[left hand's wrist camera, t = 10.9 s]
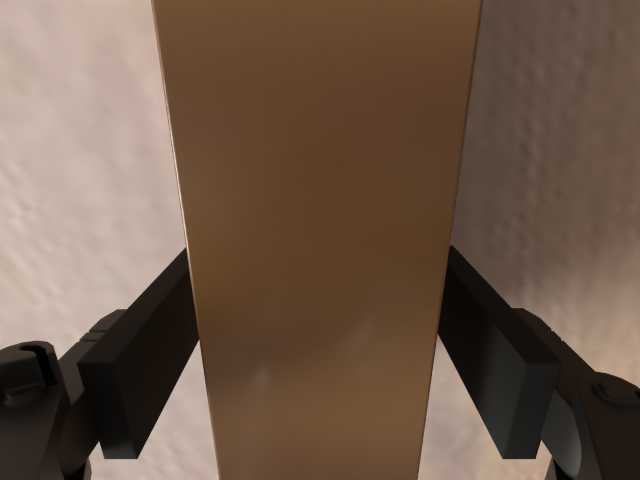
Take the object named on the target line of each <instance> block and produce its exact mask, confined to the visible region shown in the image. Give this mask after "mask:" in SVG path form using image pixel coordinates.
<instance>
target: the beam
mask: <svg viewBox="0 0 640 480" xmlns="http://www.w3.org/2000/svg"><path fill="white" fill-rule="evenodd" d="M151 3H152V10H153V17H154V24H155V31H156V38H157V45H158V52H159V59H160V66H161V73H162V80H163V87H164V94H165V101H166V108H167V115H168V122H169V129H170V136H171V143H172V151H173V158H174V165H175V172H176V179H177V186H178V193H179V200H180V207H181V214H182V221H183V228H184V235H185V242H186V249H187V256H188V263H189V270H190V277H191V284H192V291H193V298H194V305H195V312H196V319H197V326H198V333H199V340H200V347H201V354H202V361H203V368H204V375H205V382H206V389H207V396H208V403H209V410H210V417H211V425H212V432H213V439H214V446H215V453H216V460H217V467H218V474H219V480H417V479H418V472H419V465H420V458H421V450H422V443H423V436H424V428H425V421H426V414H427V406H428V399H429V392H430V385H431V377H432V370H433V363H434V355H435V348H436V341H437V333H438V326H439V319H440V312H441V304H442V297H443V290H444V282H445V275H446V268H447V260H448V253H449V246H450V239H451V231H452V224H453V217H454V209H455V202H456V195H457V187H458V180H459V173H460V165H461V158H462V151H463V144H464V136H465V129H466V122H467V114H468V107H469V100H470V92H471V85H472V78H473V71H474V63H475V56H476V49H477V41H478V34H479V27H480V19H481V12H482V5H483V0H151Z"/></svg>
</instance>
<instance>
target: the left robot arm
mask: <svg viewBox="0 0 640 480" xmlns="http://www.w3.org/2000/svg"><path fill="white" fill-rule="evenodd" d="M438 335H439V337H440V339H441V340H442V342H443V344H444V346H445V348H446V350H447V352H448V354H449V356H450V358H451V360H452V362H453V364H454V366H455V368H456V370H457V371H458V373H459V375H460V377H461V379H462V381H463V383H464V385H465V387H466V389H467V391H468V393H469V395H470V397H471V399H472V400H473V402H474V404H475V406H476V408H477V410H478V412H479V414H480V416H481V418H482V420H483V422H484V424H485V426H486V428H487V430H488V431H489V433H490V435H491V437H492V439H493V441H494V443H495V445H496V447H497V449H498V451H499V453H500V455H501V457H502V459H536V455H537V452H538V449H539V445H540V442H541V440H542V441H543V443H544V444H545V446H546V447H547V449H548V450H549V452H550V453H551V455H552V458H551V461H550V464H549V467H548V470H547V474H546V477H545V480H640V388H638V387H637V386H635V385H634V384H632V383H630V382H628V381H626V380H624V379H622V378H619V377H616V376H613V375H610V374H607V373H601V372H595V371H594V370H593V369H592V368H591V367H590V366H589V365H588V364H587V363H586V362H585V361H584V360H583V359H582V358H581V357H580V356H579V355H578V354H577V353H575V352H574V351H573V350H572V349H571V348H570V347H569V346H568V345H567V344H566V343H565V342H564V341H561V338H560V337H559V336H558V335H557V334H556V333H555V332H554V331H551V328H550V327H549V326H548V325H547V324H546V323H544V322H543V321H542V320H541V319H540V318H539V317H537V316H536V315H534V314H532V313H530V312H529V311H527V310H525V309H523V308H511V307H510V306H509V305H508V304H507V303H506V302H505V300H504V299H503V298H502V297H501V296H500V295H499V294H498V293H497V292H496V291H495V290H494V289H493V288H492V287H491V286H490V285H489V284H488V283H487V281H486V280H485V279H484V278H483V277H482V276H481V275H480V274H479V273H478V272H477V271H476V270H475V269H474V268H473V267H472V266H471V265H470V263H469V262H468V261H467V260H466V259H465V258H464V257H463V256H462V255H461V254H460V253H459V252H458V251H457V250H456V249H455V248H454V247H453V246H449V253H448V260H447V268H446V275H445V282H444V290H443V297H442V304H441V312H440V319H439V326H438ZM198 341H199V333H198V326H197V319H196V312H195V305H194V298H193V291H192V284H191V277H190V270H189V263H188V256H187V249H186V248H185V249H184V250H183V251H182V252H181V253H180V254H179V255H178V256H177V257H176V258H175V259H174V260H173V261H172V262H171V263H170V265H169V266H168V267H167V268H166V269H165V270H164V271H163V272H162V273H161V274H160V275H159V276H158V277H157V278H156V279H155V280H154V281H153V283H152V284H151V285H150V286H149V287H148V288H147V289H146V290H145V291H144V292H143V293H142V294H141V295H140V296H139V297H138V298H137V299H136V300H135V302H134V303H133V304H132V305H131V306H130V307H129V308H128V309H117V310H116V311H114V312H112V313H110V314H109V315H107V316H105V317H103V318H102V319H100V320H99V321H98V322H97V323H96V324H95V325H94V326H93V327H92V328H91V329H90V330H89V333H86V334H85V335H84V336H83V337H82V338H81V339H80V340H79V342H77V343H76V344H75V345H74V346H73V347H71V348H70V349H69V350H68V351H67V352H66V353H65V354H64V355H63V356H62V357H61V358H60V359H59V360H58V359H57V356H56V353H55V350H54V347H53V345H51V344H50V343H48V342H44V341H31V342H23V343H19V344H16V345H12V346H9V347H6V348H4V349H2V350H0V480H91V473H92V471H91V464H90V461H89V458H88V457H89V455H90V454H91V452H92V451H93V449H94V448H95V446H96V445H97V443H98V442H100V445H101V449H102V452H103V455H104V459H138V457H139V455H140V453H141V451H142V449H143V447H144V445H145V443H146V441H147V439H148V437H149V435H150V433H151V431H152V430H153V428H154V426H155V424H156V422H157V420H158V418H159V416H160V414H161V412H162V410H163V408H164V406H165V404H166V402H167V400H168V399H169V397H170V395H171V393H172V391H173V389H174V387H175V385H176V383H177V381H178V379H179V377H180V375H181V373H182V371H183V370H184V368H185V366H186V364H187V362H188V360H189V358H190V356H191V354H192V352H193V350H194V348H195V346H196V344H197V342H198Z"/></svg>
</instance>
